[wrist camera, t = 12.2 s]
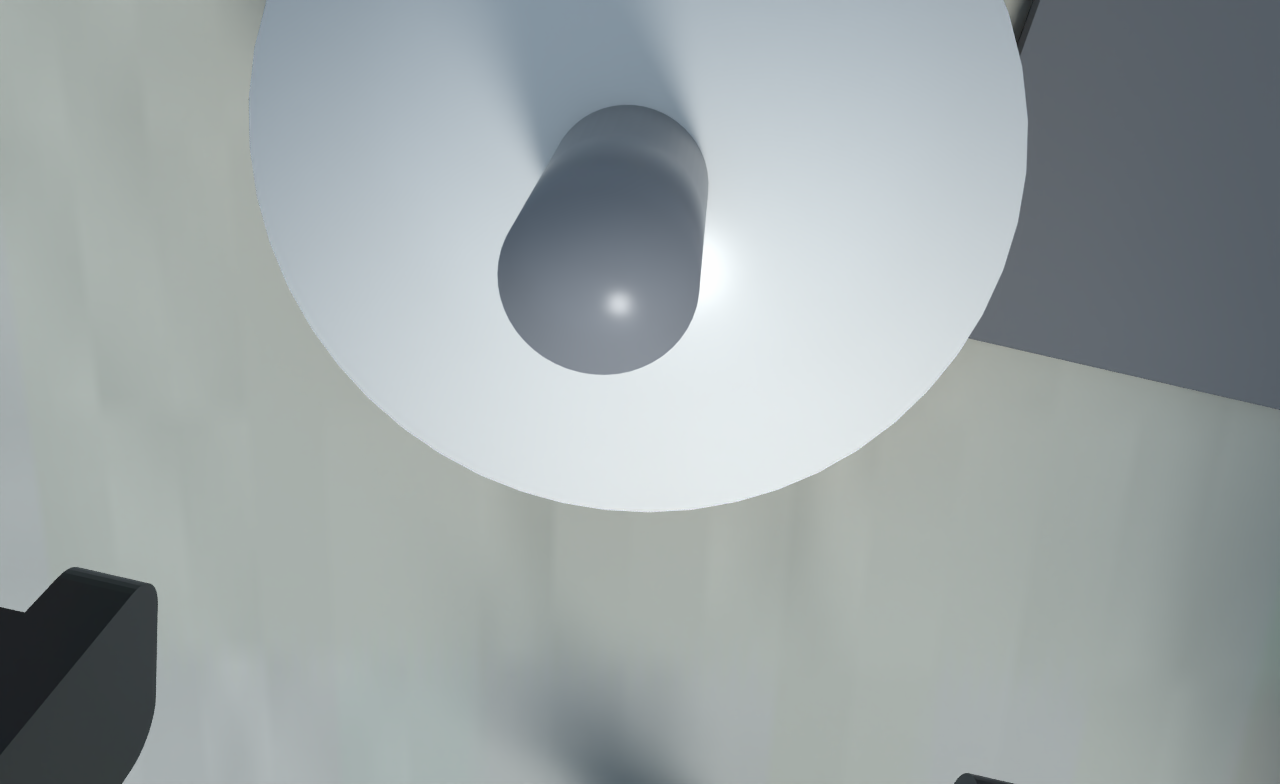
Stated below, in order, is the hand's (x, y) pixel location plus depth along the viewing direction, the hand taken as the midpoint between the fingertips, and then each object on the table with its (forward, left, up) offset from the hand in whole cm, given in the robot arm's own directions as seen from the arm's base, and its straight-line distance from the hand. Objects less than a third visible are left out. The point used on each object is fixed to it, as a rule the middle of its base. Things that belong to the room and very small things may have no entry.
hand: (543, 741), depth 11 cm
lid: (+1, -1, -17) cm, 17 cm away
